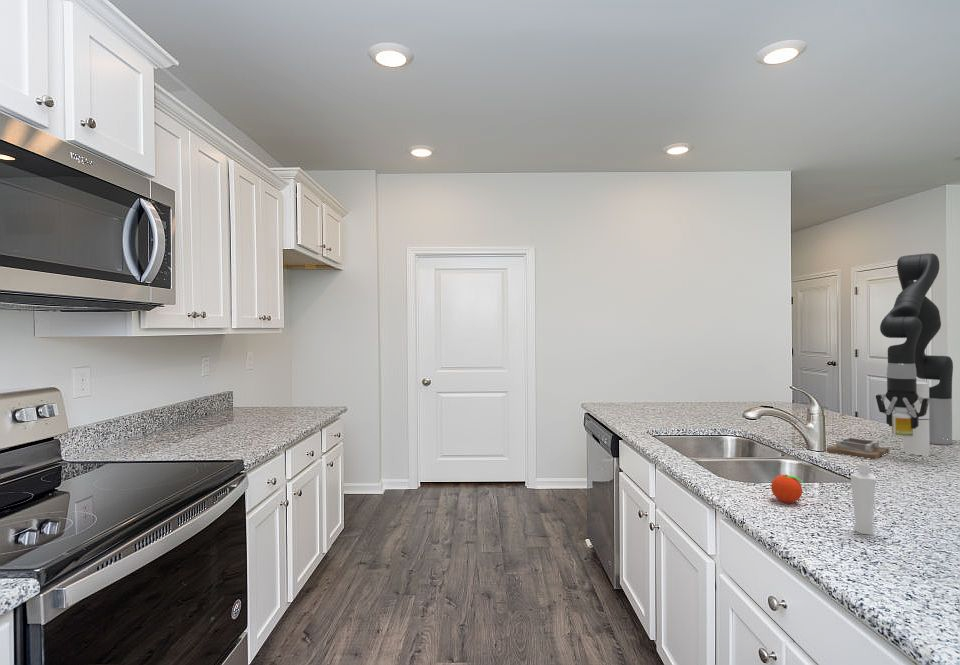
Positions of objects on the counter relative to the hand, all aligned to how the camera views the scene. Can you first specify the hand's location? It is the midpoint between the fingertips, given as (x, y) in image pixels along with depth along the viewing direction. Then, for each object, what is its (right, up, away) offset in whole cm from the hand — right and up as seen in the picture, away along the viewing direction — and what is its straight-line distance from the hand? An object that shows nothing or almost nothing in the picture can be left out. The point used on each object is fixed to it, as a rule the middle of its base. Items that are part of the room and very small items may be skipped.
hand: (902, 426), depth 167 cm
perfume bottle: (-56, -13, -56) cm, 80 cm away
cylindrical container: (+12, -11, +9) cm, 19 cm away
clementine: (-61, -13, -37) cm, 72 cm away
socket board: (-6, -11, +12) cm, 17 cm away
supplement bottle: (0, -3, 0) cm, 3 cm away
